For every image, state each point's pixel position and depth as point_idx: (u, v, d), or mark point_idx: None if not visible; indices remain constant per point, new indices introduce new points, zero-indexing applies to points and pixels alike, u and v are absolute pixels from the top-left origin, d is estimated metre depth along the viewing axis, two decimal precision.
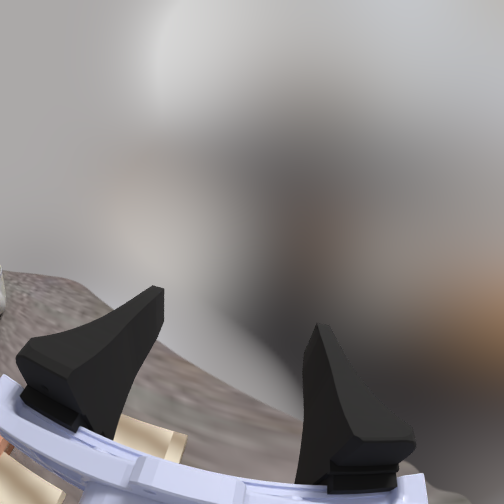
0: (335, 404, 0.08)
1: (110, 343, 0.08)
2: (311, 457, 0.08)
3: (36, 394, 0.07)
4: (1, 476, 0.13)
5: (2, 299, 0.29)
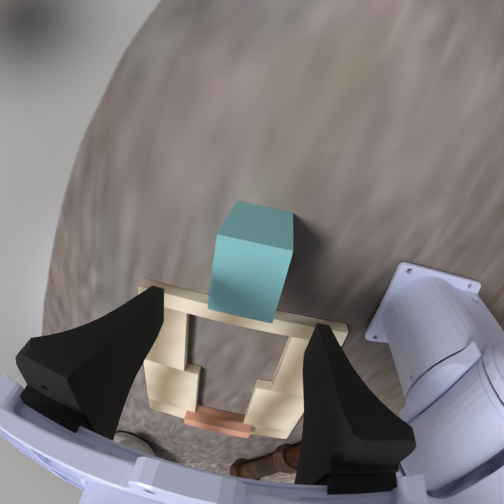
0: (335, 403, 0.08)
1: (110, 343, 0.08)
2: (311, 457, 0.08)
3: (36, 394, 0.07)
4: (269, 422, 0.31)
5: None
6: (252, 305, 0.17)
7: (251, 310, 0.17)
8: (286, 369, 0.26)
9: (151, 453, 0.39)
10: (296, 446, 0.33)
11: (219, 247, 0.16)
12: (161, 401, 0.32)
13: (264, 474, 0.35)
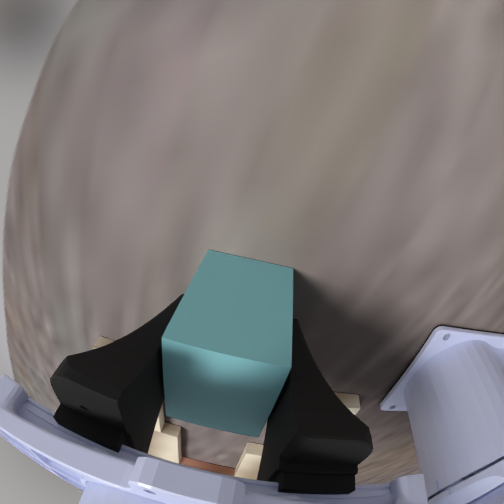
0: (289, 398, 0.08)
1: (152, 357, 0.08)
2: (269, 452, 0.08)
3: (72, 414, 0.07)
4: None
5: None
6: (228, 420, 0.10)
7: (227, 424, 0.10)
8: None
9: None
10: None
11: (168, 354, 0.09)
12: None
13: None
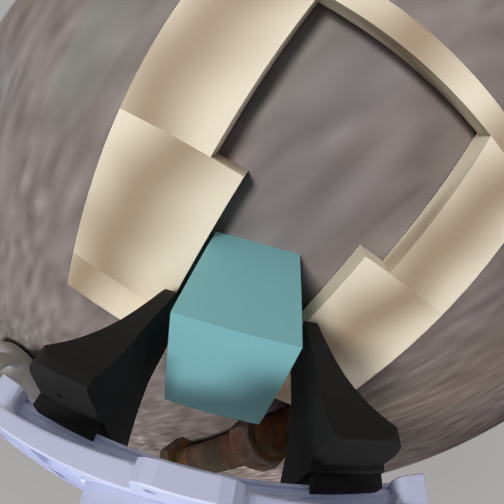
0: (318, 402, 0.08)
1: (127, 349, 0.08)
2: (295, 455, 0.08)
3: (50, 402, 0.07)
4: None
5: None
6: (230, 404, 0.10)
7: (229, 409, 0.10)
8: (450, 216, 0.11)
9: None
10: (275, 415, 0.18)
11: (176, 331, 0.09)
12: (98, 265, 0.14)
13: (215, 468, 0.19)
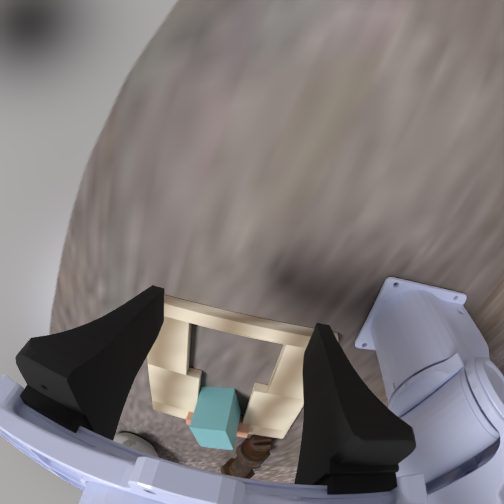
0: (335, 404, 0.08)
1: (110, 343, 0.08)
2: (311, 457, 0.08)
3: (36, 394, 0.07)
4: (266, 422, 0.33)
5: None
6: (220, 445, 0.28)
7: (220, 446, 0.28)
8: (281, 373, 0.28)
9: (154, 452, 0.41)
10: (249, 439, 0.35)
11: (193, 430, 0.27)
12: (164, 403, 0.33)
13: (242, 470, 0.37)
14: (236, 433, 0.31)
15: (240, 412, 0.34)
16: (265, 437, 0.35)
